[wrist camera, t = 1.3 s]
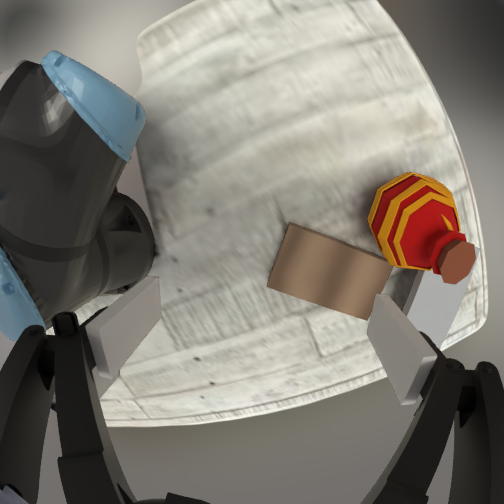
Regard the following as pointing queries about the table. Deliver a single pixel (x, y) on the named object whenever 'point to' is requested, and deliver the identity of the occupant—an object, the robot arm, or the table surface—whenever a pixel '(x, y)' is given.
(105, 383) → the beverage can
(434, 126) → the table surface
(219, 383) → the table surface
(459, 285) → the shelf
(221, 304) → the table surface
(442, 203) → the potion bottle
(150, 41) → the table surface
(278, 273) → the panel
